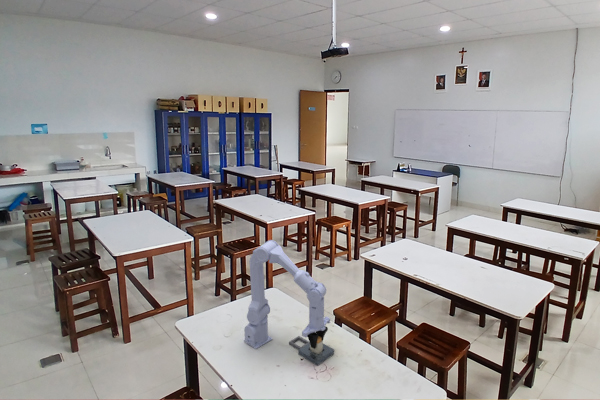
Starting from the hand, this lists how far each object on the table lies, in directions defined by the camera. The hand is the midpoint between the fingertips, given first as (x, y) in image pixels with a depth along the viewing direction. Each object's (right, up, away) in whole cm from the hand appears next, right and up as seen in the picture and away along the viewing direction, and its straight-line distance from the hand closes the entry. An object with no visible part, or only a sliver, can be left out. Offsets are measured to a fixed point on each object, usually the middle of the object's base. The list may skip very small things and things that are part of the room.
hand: (316, 345), depth 151 cm
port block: (0, -4, +1) cm, 4 cm away
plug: (0, -2, +1) cm, 2 cm away
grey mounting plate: (-7, -2, +7) cm, 10 cm away
